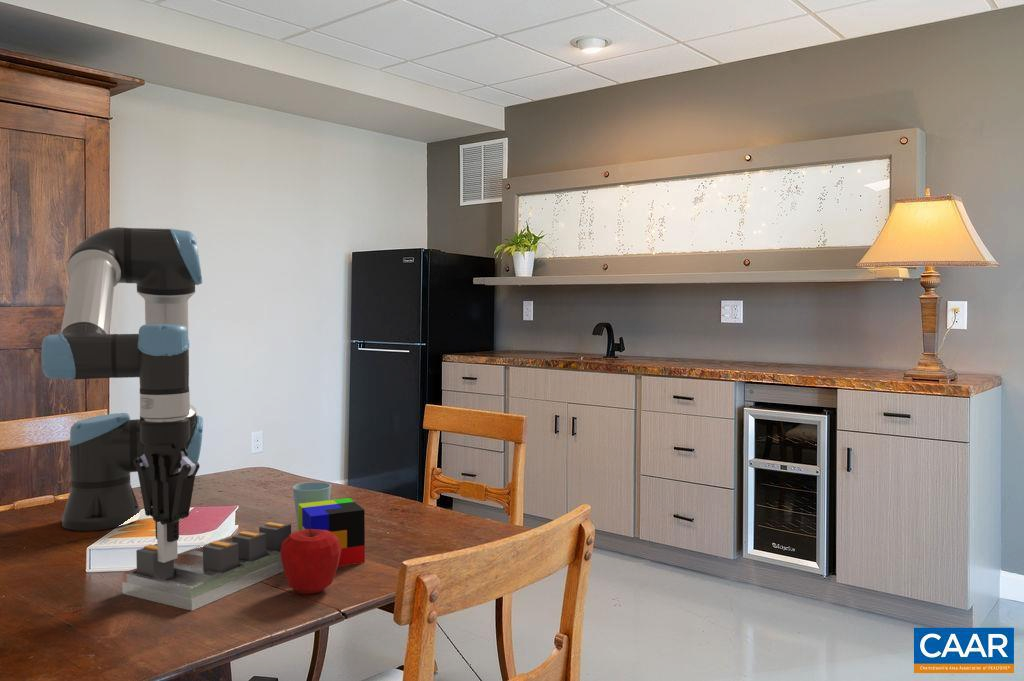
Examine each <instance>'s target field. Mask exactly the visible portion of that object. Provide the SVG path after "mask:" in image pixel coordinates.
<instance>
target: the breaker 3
mask: <svg viewBox="0 0 1024 681" xmlns="http://www.w3.org/2000/svg"><path fill="white" fill-rule="evenodd" d="M238 533H239V534H238ZM238 533H237V534H238V535H235V534H234V535H235V536H232V535H231V536H232V542H234V543H238V554H239V559H240V560H245V561H250V562H253V561H255V560H258V559H260V558H263V557H265V556H266V533H260V532H259V531H253V530H247V531H246V530H242V531H240V532H238Z"/></svg>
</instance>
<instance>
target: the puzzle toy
mask: <svg viewBox="0 0 1024 681" xmlns="http://www.w3.org/2000/svg"><path fill="white" fill-rule="evenodd" d="M365 513H366V512H365V508H363V507H361V505H359V504H358V503H356V502H355V501H354V500H352V498H350V497H346V498H337V499H330V500H327V501H318V502H309V503H300V504H298V525H297V531H300V530H304V529H309V528H310V529H317V530H327V531H331V532H332V533H333V534H334V535H335V536H336V537H337V538H338V540H339V543H340V546H341V549H342V550H341V554H340V559H339V564H338V567H342V565H345V566H349V565H348V564H351V565H355V564H354V563H358V564H362V563H361V562H366V561H365V559H366V558H365V557H366V554H365V553H366V550H365V549H366V548H365V546H366V541H365V538H366V534H365V532H366V531H365V518H366V517H365Z"/></svg>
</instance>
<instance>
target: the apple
mask: <svg viewBox="0 0 1024 681" xmlns="http://www.w3.org/2000/svg"><path fill="white" fill-rule="evenodd" d="M341 550H342V549H341V546H340V543H339V540H338V538H337V537H336V536H335V535H334V534H333V533H332V532H331V531H327V530H317V529H310V528H309V529H304V530H300V531H298V530H296V531H294V532H291V534H290V535H289V536H288V537H287V538H286V539H285V540H284V541H283V542H282V546H281V551H280V555H281V560H282V564H283V569H284V571H283V573H284V574H285V578H286V581H287V583H288V585H289V588H291V589H292V590H294V591H296V592H297V593H300V594H303V595H309V594H317V593H321V592H322V591H324V590H325V589H326V588H328V587H329V586H330V585H331V584H332V583H333V581H334V578H335V575H336V573H337V569H338V567H339V566H338V564H339V559H340V554H341Z"/></svg>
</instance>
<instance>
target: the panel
mask: <svg viewBox="0 0 1024 681" xmlns="http://www.w3.org/2000/svg"><path fill="white" fill-rule="evenodd" d="M238 534H239V532H238V533H235V534H232V535H230V536H226V537H224V538H223V537H222V538H220V539H217V540H216V541H220V540H223V541H228V542H232V536H235V535H238ZM209 544H210V542H209V543H206V544H203V545H204V546H206V545H209ZM197 547H198V548H197ZM197 547H195V548H191V549H189V550H186V551H183V552H180V553H177V554H178V558H176V559H174V577H171V578H169V579H166V580H162V579H158V578H153V577H149V576H144V575H140V574H137V567H136V568H133V569H131V570H127V571H124V572H122V583H121V584H122V595H126V596H130V597H135V598H138V599H142V600H147V601H150V602H151V601H152V602H155V603H159V604H163V605H168V606H171V607H176V608H179V609H184V610H188V611H190V612H191V611H195V610H197V609H199V608H202V607H204V606H206V605H209V604H211V603H214V602H215V601H218V600H221V599H222V598H225V597H228V596H229V595H231V594H235V593H236V592H238V591H241V590H243V589H246V588H248V587H250V586H252V585H255V584H257V583H259V582H262V581H264V580H266V579H269V578H272V577H274V576H276V575H278V574H281V573H284V569H283V564H282V560H281V555H280V551H281V550H280V551H274V550H268V549H266V556H265V557H263V558H260V559H258V560H255V561H253V562H250V561H245V560H240V559H239V567H237V568H235V569H232V570H230V571H227V572H225V573H219V572H214V571H209V570H204V569H203V547H200V546H197ZM199 547H200V548H199Z"/></svg>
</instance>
